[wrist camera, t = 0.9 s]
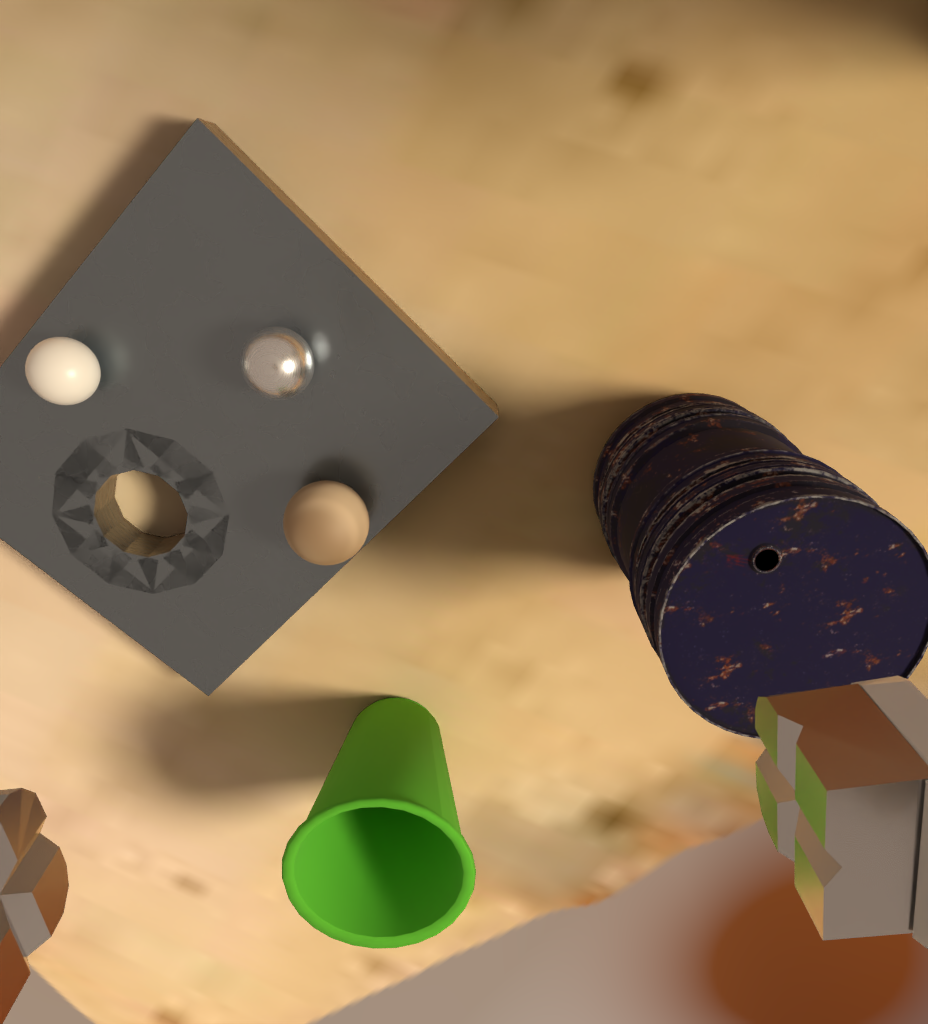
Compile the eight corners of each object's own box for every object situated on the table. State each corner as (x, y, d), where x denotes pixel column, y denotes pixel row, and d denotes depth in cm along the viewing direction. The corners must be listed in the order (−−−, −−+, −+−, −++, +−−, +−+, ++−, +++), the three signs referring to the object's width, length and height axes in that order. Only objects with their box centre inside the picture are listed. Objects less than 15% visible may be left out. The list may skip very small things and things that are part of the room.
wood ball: (329, 452, 38) (315, 479, 35) (390, 507, 39) (382, 539, 36) (275, 507, 39) (256, 539, 36) (336, 559, 40) (323, 596, 37)
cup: (288, 730, 47) (240, 877, 37) (395, 637, 45) (376, 766, 35) (396, 817, 49) (380, 977, 39) (504, 733, 47) (516, 880, 37)
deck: (214, 123, 35) (197, 118, 33) (496, 404, 40) (499, 416, 38) (-54, 458, 41) (-85, 474, 39) (221, 670, 46) (208, 696, 43)
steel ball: (280, 306, 36) (264, 315, 33) (334, 356, 37) (322, 370, 34) (235, 357, 37) (215, 370, 34) (288, 405, 37) (273, 422, 34)
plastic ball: (70, 317, 36) (37, 327, 33) (124, 364, 37) (96, 378, 34) (32, 364, 37) (-3, 378, 34) (86, 409, 37) (56, 426, 35)
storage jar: (807, 517, 42) (977, 672, 28) (639, 598, 44) (721, 782, 30) (736, 354, 39) (887, 437, 25) (557, 448, 41) (607, 575, 27)
